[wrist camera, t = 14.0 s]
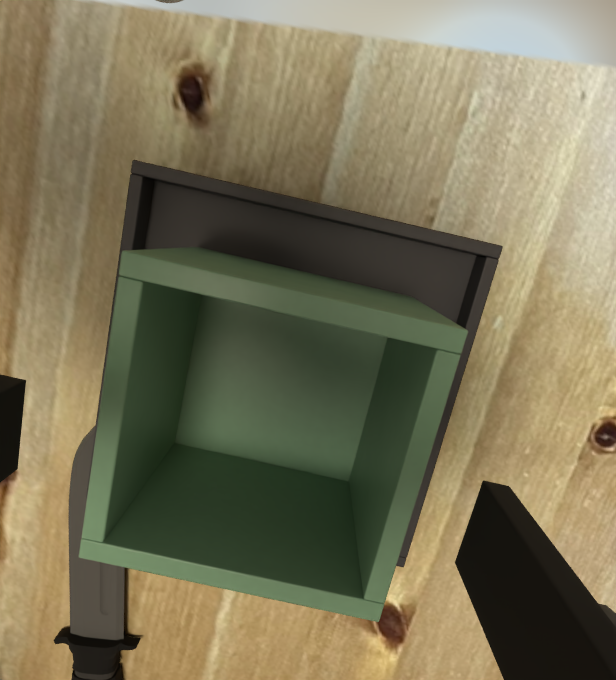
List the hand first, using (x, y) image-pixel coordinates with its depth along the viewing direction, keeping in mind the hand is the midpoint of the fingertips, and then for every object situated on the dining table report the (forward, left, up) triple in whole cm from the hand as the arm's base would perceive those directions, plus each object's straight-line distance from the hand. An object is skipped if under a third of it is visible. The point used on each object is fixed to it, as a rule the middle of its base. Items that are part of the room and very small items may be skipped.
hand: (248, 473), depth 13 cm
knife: (+17, -7, -12) cm, 22 cm away
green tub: (0, 0, -11) cm, 11 cm away
